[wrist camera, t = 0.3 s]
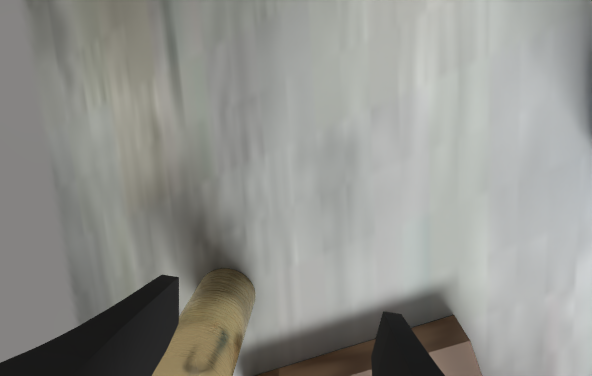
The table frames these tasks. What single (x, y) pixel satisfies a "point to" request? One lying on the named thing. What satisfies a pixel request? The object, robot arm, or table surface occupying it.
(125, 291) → the table surface
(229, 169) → the table surface
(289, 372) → the jig plate
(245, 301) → the brass peg
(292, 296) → the table surface
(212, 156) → the table surface
